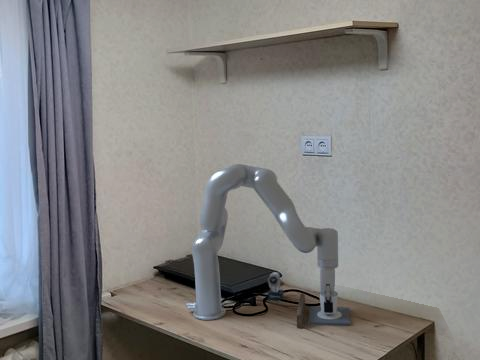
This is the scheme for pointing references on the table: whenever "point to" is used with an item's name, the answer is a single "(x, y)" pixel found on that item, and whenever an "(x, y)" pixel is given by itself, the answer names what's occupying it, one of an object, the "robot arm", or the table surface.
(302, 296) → the divider wall
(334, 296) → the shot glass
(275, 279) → the watch
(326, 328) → the table surface
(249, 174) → the robot arm
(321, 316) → the mat
